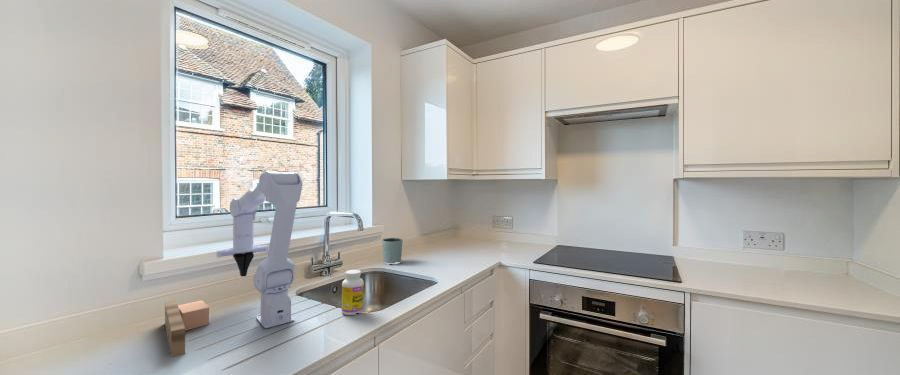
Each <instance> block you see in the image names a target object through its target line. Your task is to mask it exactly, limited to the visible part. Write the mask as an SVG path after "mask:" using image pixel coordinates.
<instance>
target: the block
mask: <svg viewBox="0 0 900 375" xmlns="http://www.w3.org/2000/svg"><path fill="white" fill-rule="evenodd" d="M177 305H178V308H179V311H180V314H181V317H182V320H183V323H184V326H185V331H187V330H191V329H195V328H199V326H200V327H203V326H206V325H209V324H210V307H209V305H208V304H206V302H204V300H203V299H202V300H197V301H192V302H187V303H183V304H177Z"/></svg>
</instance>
